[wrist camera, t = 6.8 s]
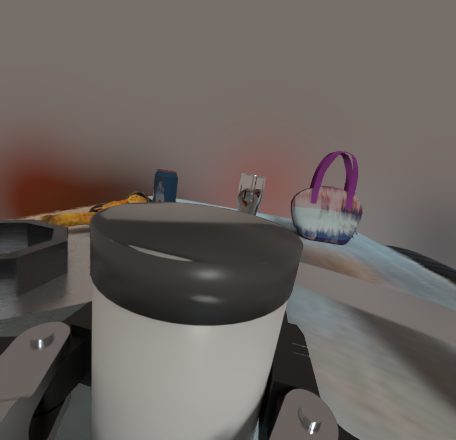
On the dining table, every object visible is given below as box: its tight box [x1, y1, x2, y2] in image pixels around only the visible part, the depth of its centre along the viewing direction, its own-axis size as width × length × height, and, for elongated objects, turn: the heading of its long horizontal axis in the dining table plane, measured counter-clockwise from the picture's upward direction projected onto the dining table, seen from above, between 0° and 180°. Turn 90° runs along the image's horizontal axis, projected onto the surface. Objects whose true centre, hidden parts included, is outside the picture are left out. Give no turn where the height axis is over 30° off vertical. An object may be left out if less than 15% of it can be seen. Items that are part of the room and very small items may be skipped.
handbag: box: [291, 151, 362, 245], centre depth 60 cm, size 21×10×25 cm, turn 88°
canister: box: [90, 202, 303, 440], centre depth 8 cm, size 6×6×12 cm
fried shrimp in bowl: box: [38, 191, 153, 227], centre depth 38 cm, size 9×11×18 cm
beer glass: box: [238, 173, 266, 216], centre depth 59 cm, size 7×7×15 cm
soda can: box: [153, 169, 178, 202], centre depth 66 cm, size 7×7×12 cm
